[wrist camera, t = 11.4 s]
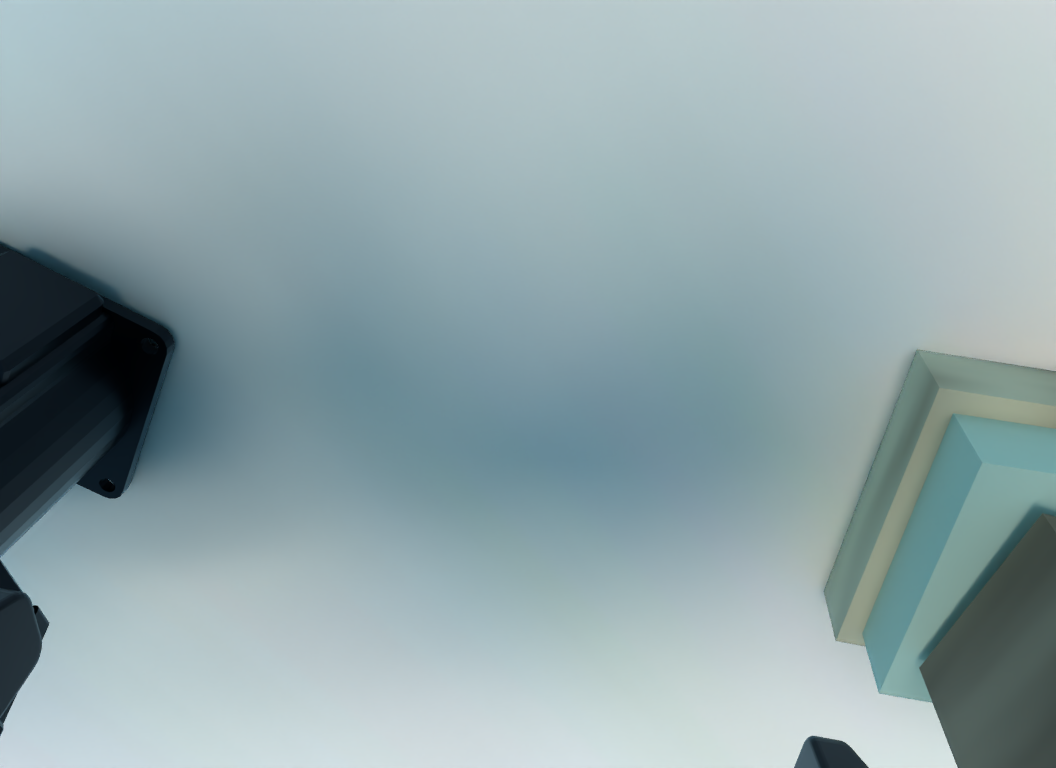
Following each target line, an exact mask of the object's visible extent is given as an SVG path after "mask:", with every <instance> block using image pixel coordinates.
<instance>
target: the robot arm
mask: <svg viewBox="0 0 1056 768" xmlns="http://www.w3.org/2000/svg"><path fill="white" fill-rule="evenodd" d="M148 338H150V339H152V340H154V341H155V342H156V343H157V345H158V348H156V347H154V346H153V345H152V344H151V343H150V342H149V340H148ZM173 350H174V340H173V337H172V335H171V334H170V332H169V331H168V330H167V329H165V328H164V327H163V326H161V325H159V324H157V323H155V322H153V321H151V320H149V319H147V318H145V317H143V316H141V315H139V314H137V313H135V312H133V311H131V310H129V309H127V308H125V307H123V306H121V305H119V304H117V303H115V302H113V301H111V300H109V299H107V298H105V297H103V296H101V295H99V294H97V293H96V292H94V291H92V290H90V289H88V288H86V287H84V286H82V285H80V284H78V283H76V282H74V281H72V280H70V279H68V278H66V277H64V276H62V275H60V274H58V273H56V272H54V271H52V270H50V269H48V268H46V267H45V266H43V265H41V264H39V263H37V262H35V261H33V260H31V259H29V258H27V257H25V256H23V255H21V254H19V253H17V252H14V251H12V250H10V249H8V248H6V247H4V246H2V245H0V557H1V556H2V555H3V554H4V553H5V552H6V551H7V550H8V549H9V548H10V547H11V546H13V545H14V544H15V543H16V542H17V541H18V540H19V539H20V538H21V537H22V536H23V535H24V534H25V533H26V532H27V531H28V530H29V529H30V528H31V527H32V526H33V525H34V524H35V523H36V522H37V521H38V520H39V519H40V518H41V517H42V516H43V515H44V514H45V513H46V512H47V511H48V510H49V509H50V508H51V507H52V506H53V505H54V504H55V503H56V502H57V501H58V500H59V499H61V498H62V497H63V496H64V495H65V494H66V493H67V492H68V491H69V490H70V489H71V488H72V487H73V486H74V485H75V484H78V485H81V486H83V487H85V488H87V489H89V490H91V491H93V492H95V493H97V494H100V495H102V496H104V497H107V498H118V497H120V496H121V495H122V494H123V493H124V492H125V491H126V489H127V488H128V487H129V485H130V483H131V480H132V477H133V474H134V470H135V467H136V464H137V461H138V458H139V455H140V452H141V449H142V446H143V443H144V440H145V437H146V433H147V430H148V427H149V424H150V421H151V418H152V415H153V412H154V409H155V406H156V403H157V399H158V396H159V393H160V390H161V387H162V384H163V381H164V378H165V375H166V372H167V369H168V366H169V362H170V359H171V356H172V353H173ZM108 479H109V480H111V481H112V482H113V483H114V484H113V483H112V482H110V481H109V480H108ZM48 626H49V622H48V620H47V619H46V617H45V616H44V614H43V613H42V611H41V610H40V609H39V607H38V606H32V602H31V600H30V598H29V596H28V595H27V594H26V593H23V592H22V590H21V589H20V587H19V586H18V584H17V583H16V581H15V580H14V579H13V577H12V576H11V574H10V573H9V571H8V570H7V568H6V567H5V566H4V564H3V563H2V561H1V560H0V736H1V734H2V731H3V723H4V721H5V719H6V717H7V714H8V712H9V710H10V708H11V706H12V704H13V701H14V699H15V697H16V695H17V693H18V691H19V690H20V688H21V687H22V685H23V684H24V682H25V681H26V679H27V678H28V676H29V675H30V673H31V672H32V670H33V669H34V667H35V665H36V664H37V661H38V659H39V657H40V653H41V649H42V639H43V637H44V635H45V633H46V630H47V628H48ZM794 768H868V766H867V765H866V764H865V763H864V762H863V761H862V760H861V758H860V757H859V756H858V755H857V754H856V753H855V752H854V750H853V749H852V748H851V747H850V746H849V745H847V744H846V743H845V742H843V741H839V740H834V739H829V738H823V737H818V736H810V737H808V738H807V739H806V741H805V742H804V744H803V747H802V749H801V752H800V754H799V757H798V759H797V762H796V764H795V767H794Z"/></svg>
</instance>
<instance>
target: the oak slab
mask: <svg viewBox="0 0 1056 768" xmlns="http://www.w3.org/2000/svg"><path fill="white" fill-rule="evenodd" d="M953 413H955V414H962V415H968V416H975V417H982V418H988V419H995V420H1001V421H1008V422H1014V423H1021V424H1028V425H1034V426H1041V427H1047V428H1054V429H1056V372H1055V371H1049V370H1043V369H1036V368H1030V367H1024V366H1017V365H1011V364H1005V363H998V362H992V361H986V360H980V359H973V358H967V357H961V356H954V355H948V354H942V353H935V352H929V351H923V350H917V352H916V354H915V357H914V359H913V362H912V364H911V367H910V370H909V372H908V375H907V377H906V380H905V383H904V385H903V388H902V390H901V393H900V396H899V398H898V401H897V403H896V406H895V409H894V411H893V414H892V416H891V419H890V421H889V424H888V427H887V429H886V432H885V434H884V437H883V440H882V442H881V445H880V447H879V450H878V453H877V455H876V458H875V460H874V463H873V465H872V468H871V471H870V473H869V476H868V478H867V481H866V484H865V486H864V489H863V491H862V494H861V497H860V499H859V502H858V504H857V507H856V509H855V512H854V515H853V517H852V520H851V522H850V525H849V528H848V530H847V533H846V535H845V538H844V541H843V543H842V546H841V548H840V551H839V554H838V556H837V559H836V561H835V564H834V566H833V569H832V572H831V574H830V577H829V579H828V582H827V585H826V587H825V590H824V594H825V598H826V602H827V606H828V611H829V615H830V619H831V623H832V627H833V631H834V636H835V640H836V641H839V642H845V643H850V644H856V645H861V646H866V645H865V642H864V638H863V635H862V633H863V631H864V628H865V626H866V623H867V621H868V618H869V616H870V614H871V611H872V609H873V606H874V604H875V601H876V599H877V597H878V594H879V592H880V589H881V587H882V584H883V582H884V580H885V577H886V575H887V572H888V570H889V568H890V565H891V563H892V560H893V558H894V555H895V553H896V551H897V548H898V546H899V543H900V541H901V538H902V536H903V534H904V531H905V529H906V526H907V524H908V522H909V519H910V517H911V514H912V512H913V509H914V507H915V505H916V502H917V500H918V497H919V495H920V492H921V490H922V488H923V485H924V483H925V480H926V478H927V476H928V473H929V471H930V468H931V466H932V463H933V461H934V459H935V456H936V454H937V451H938V449H939V446H940V444H941V442H942V439H943V437H944V434H945V432H946V430H947V427H948V425H949V422H950V420H951V417H952V415H953Z"/></svg>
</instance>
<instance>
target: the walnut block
mask: <svg viewBox="0 0 1056 768" xmlns="http://www.w3.org/2000/svg"><path fill="white" fill-rule="evenodd" d="M919 669H920V672H921V674H922V677H923V679H924V682H925V684H926V687H927V690H928V692H929V695H930V697H931V700H932V702H933V705H934V708H935V710H936V713H937V715H938V718H939V720H940V723H941V726H942V728H943V731H944V733H945V736H946V738H947V741H948V744H949V746H950V749H951V751H952V754H953V756H954V759H955V762H956V764H957V767H958V768H1056V517H1055V516H1051V515H1048V514H1044V513H1042V514H1041V515H1040V517H1039V518H1038V519H1037V520H1036V522H1035V523H1034V524H1033V525H1032V527H1031V528H1030V529H1029V531H1028V532H1027V533H1026V534H1025V536H1024V537H1023V538H1022V539H1021V541H1020V542H1019V543H1018V544H1017V546H1016V547H1015V548H1014V549H1013V551H1012V552H1011V553H1010V554H1009V556H1008V557H1007V558H1006V559H1005V561H1004V562H1003V563H1002V564H1001V566H1000V567H999V568H998V569H997V571H996V572H995V573H994V574H993V576H992V577H991V578H990V579H989V581H988V582H987V583H986V585H985V586H984V587H983V588H982V590H981V591H980V592H979V593H978V595H977V596H976V597H975V598H974V600H973V601H972V602H971V603H970V605H969V606H968V607H967V608H966V610H965V611H964V612H963V613H962V615H961V616H960V617H959V618H958V620H957V621H956V622H955V623H954V625H953V626H952V627H951V628H950V630H949V631H948V632H947V633H946V635H945V636H944V637H943V639H942V640H941V641H940V642H939V644H938V645H937V646H936V647H935V649H934V650H933V651H932V652H931V654H930V655H929V656H928V657H927V659H926V660H925V661H924V662H923V664H922V665H921V666H920V667H919Z"/></svg>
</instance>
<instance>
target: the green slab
mask: <svg viewBox="0 0 1056 768" xmlns="http://www.w3.org/2000/svg"><path fill="white" fill-rule="evenodd" d="M1042 513H1044V514H1048V515H1051V516H1055V517H1056V429H1054V428H1047V427H1041V426H1034V425H1028V424H1021V423H1014V422H1008V421H1001V420H995V419H988V418H982V417H975V416H968V415H962V414H955V413H953V415H952V417H951V420H950V422H949V425H948V427H947V430H946V432H945V434H944V437H943V439H942V442H941V444H940V446H939V449H938V451H937V454H936V456H935V459H934V461H933V463H932V466H931V468H930V471H929V473H928V476H927V478H926V480H925V483H924V485H923V488H922V490H921V492H920V495H919V497H918V500H917V502H916V505H915V507H914V509H913V512H912V514H911V517H910V519H909V522H908V524H907V526H906V529H905V531H904V534H903V536H902V538H901V541H900V543H899V546H898V548H897V551H896V553H895V555H894V558H893V560H892V563H891V565H890V568H889V570H888V572H887V575H886V577H885V580H884V582H883V584H882V587H881V589H880V592H879V594H878V597H877V599H876V601H875V604H874V606H873V609H872V611H871V614H870V616H869V618H868V621H867V623H866V626H865V628H864V631H863V633H862V635H863V638H864V642H865V645H866V649H867V653H868V656H869V660H870V663H871V667H872V670H873V674H874V677H875V681H876V685H877V688H878V692H879V693H880V694H886V695H892V696H897V697H903V698H909V699H915V700H920V701H926V702H932V700H931V697H930V695H929V692H928V690H927V687H926V684H925V682H924V679H923V677H922V674H921V672H920V669H919V667H920V666H921V665H922V664H923V662H924V661H925V660H926V659H927V657H928V656H929V655H930V654H931V652H932V651H933V650H934V649H935V647H936V646H937V645H938V644H939V642H940V641H941V640H942V639H943V637H944V636H945V635H946V633H947V632H948V631H949V630H950V628H951V627H952V626H953V625H954V623H955V622H956V621H957V620H958V618H959V617H960V616H961V615H962V613H963V612H964V611H965V610H966V608H967V607H968V606H969V605H970V603H971V602H972V601H973V600H974V598H975V597H976V596H977V595H978V593H979V592H980V591H981V590H982V588H983V587H984V586H985V585H986V583H987V582H988V581H989V579H990V578H991V577H992V576H993V574H994V573H995V572H996V571H997V569H998V568H999V567H1000V566H1001V564H1002V563H1003V562H1004V561H1005V559H1006V558H1007V557H1008V556H1009V554H1010V553H1011V552H1012V551H1013V549H1014V548H1015V547H1016V546H1017V544H1018V543H1019V542H1020V541H1021V539H1022V538H1023V537H1024V536H1025V534H1026V533H1027V532H1028V531H1029V529H1030V528H1031V527H1032V525H1033V524H1034V523H1035V522H1036V520H1037V519H1038V518H1039V517H1040V515H1041V514H1042ZM932 703H933V702H932Z"/></svg>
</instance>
